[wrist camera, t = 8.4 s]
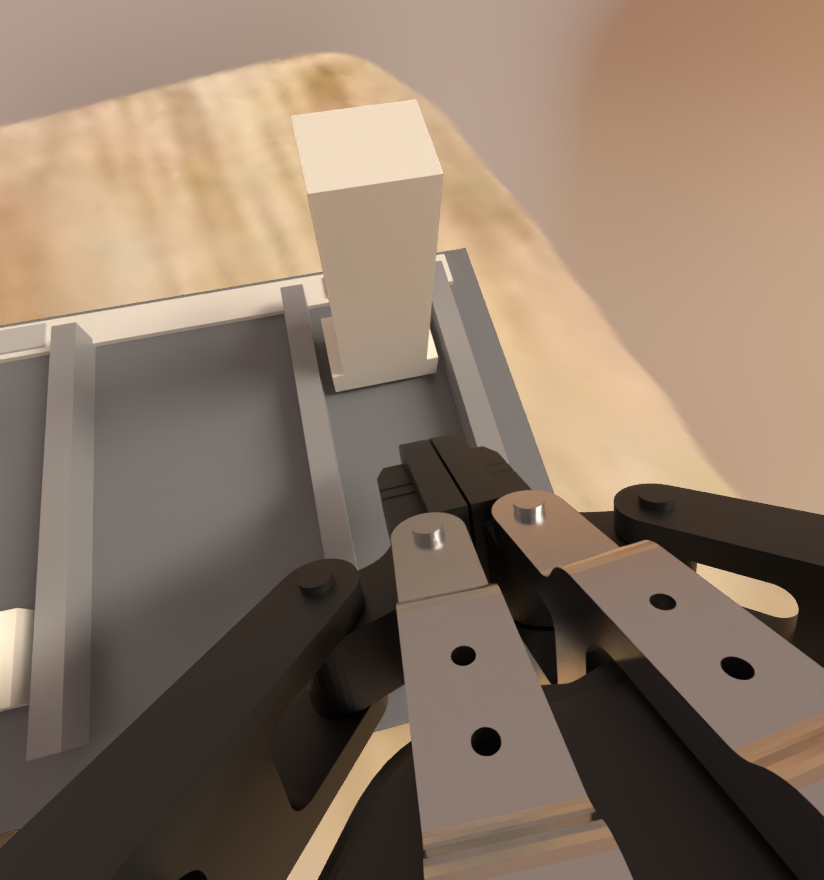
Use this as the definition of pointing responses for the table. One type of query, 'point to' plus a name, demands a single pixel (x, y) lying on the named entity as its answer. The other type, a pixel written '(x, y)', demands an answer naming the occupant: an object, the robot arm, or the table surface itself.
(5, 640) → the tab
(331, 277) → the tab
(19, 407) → the switch box
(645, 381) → the table surface
